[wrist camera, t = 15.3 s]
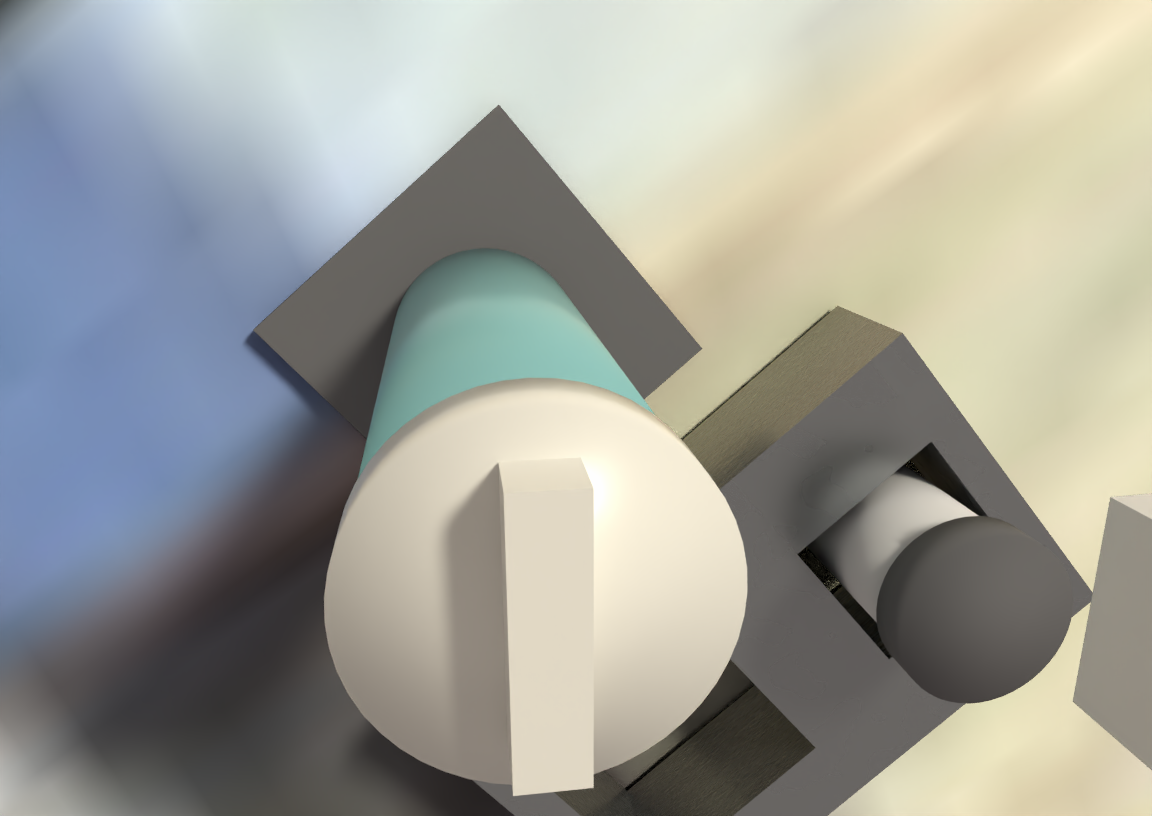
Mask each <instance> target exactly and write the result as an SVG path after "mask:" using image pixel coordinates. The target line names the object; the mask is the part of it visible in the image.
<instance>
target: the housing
mask: <svg viewBox="0 0 1152 816" xmlns="http://www.w3.org/2000/svg"><path fill="white" fill-rule="evenodd" d="M682 441H683V442H684V443H685V444H686V445H687V447H688V448H689V449H690V451H691V452H692V453H693V454H694V456H695V457H696V458H697V460H698V461H699V462H700V464H701V465H702V466H703V468H704V469H705V470H706V471H707V473H708V474H709V475H710V477H711V478H712V480H713V481H714V482H715V484H716V485H717V487H718V488H719V490H720V491H721V493H722V494H723V496H724V497H725V499H726V501H727V503H728V505H729V507H730V509H731V511H732V513H733V515H734V517H735V519H736V522H737V525H738V529H739V532H740V535H741V538H742V541H743V545H744V552H745V558H746V564H747V599H746V607H745V615H744V619H743V623H742V627H741V630H740V634H739V638H738V641H737V643H736V646H735V648H734V650H733V653H732V655H731V658H730V660H731V661H732V662H733V663H734V664H735V665H736V666H737V667H738V668H739V669H740V670H741V671H742V672H743V673H744V674H745V675H746V676H747V677H748V678H749V679H750V680H751V681H752V682H753V683H754V684H755V685H754V686H753V687H752V688H750V689H749V690H748V691H747V692H746V693H744V694H743V695H742V696H741V697H740V698H738V699H737V700H736V701H735V702H734V703H732V704H731V705H730V706H729V707H728V708H726V709H725V710H724V711H723V712H722V713H720V714H719V715H718V716H717V717H716V718H714V719H713V720H712V721H711V722H710V723H708V724H707V725H706V726H705V727H704V728H702V729H701V730H700V731H699V732H698V733H696V734H695V735H694V736H693V737H692V738H690V739H689V740H688V741H687V742H686V743H684V744H683V745H682V746H681V747H680V748H678V749H677V750H676V751H675V752H673V753H672V754H671V755H670V756H669V757H667V758H666V759H665V760H664V761H663V762H661V763H660V764H659V765H658V766H657V767H655V768H654V769H653V770H652V771H651V772H649V773H648V774H647V775H646V776H645V777H643V778H642V779H641V780H640V781H639V782H637V783H636V784H635V785H634V786H633V787H631V788H630V789H629V790H628V791H627V790H625V789H624V788H623V787H622V786H621V785H620V784H619V783H618V782H617V781H616V780H614V779H613V778H612V777H611V776H610V775H609V774H608V773H607V772H606V771H601V772H599V773H596V774H594V788H587V789H578V790H568V791H558V792H548V793H538V794H529V795H519V796H513V791H512V785H508V784H493V783H488V782H482V781H477V780H473V781H474V782H475V783H476V784H478V785H479V786H480V787H481V788H482V789H484V790H485V791H486V792H487V793H488V794H489V795H491V796H492V797H493V798H494V799H495V800H497V801H498V802H499V803H500V804H501V805H503V806H504V807H505V808H506V809H507V810H509V811H510V812H511V813H512V814H513V815H515V816H828V815H829V814H830V813H831V812H832V811H834V810H835V809H836V808H837V807H839V806H840V805H841V804H842V803H844V802H845V801H846V800H847V799H848V798H850V797H851V796H852V795H853V794H855V793H856V792H857V791H858V790H860V789H861V788H862V787H863V786H864V785H866V784H867V783H868V782H869V781H871V780H872V779H873V778H874V777H876V776H877V775H878V774H879V773H880V772H882V771H883V770H884V769H885V768H887V767H888V766H889V765H890V764H892V763H893V762H894V761H895V760H896V759H898V758H899V757H900V756H901V755H903V754H904V753H905V752H906V751H908V750H909V749H910V748H911V747H912V746H914V745H915V744H916V743H917V742H919V741H920V740H921V739H922V738H924V737H925V736H926V735H927V734H929V733H930V732H931V731H932V730H933V729H935V728H936V727H937V726H938V725H940V724H941V723H942V722H943V721H945V720H946V719H947V718H948V717H949V716H951V715H952V714H953V713H954V712H956V711H957V710H958V709H959V708H961V707H962V706H963V705H964V704H965V703H955V702H949V701H946V700H942V699H939V698H937V697H935V696H933V695H931V694H929V693H928V692H926V691H925V690H923V689H922V688H921V687H920V686H919V685H918V684H917V683H916V682H915V681H914V680H913V679H912V678H911V677H910V676H909V675H908V674H907V673H906V671H905V670H904V669H903V668H902V667H901V666H900V665H899V664H898V662H897V661H896V660H895V659H894V658H893V657H892V656H891V654H890V653H889V652H888V650H887V649H886V648H885V646H884V644H883V642H882V640H881V637H880V634H879V631H878V626H877V622H876V621H875V620H874V619H873V618H872V617H871V616H870V615H869V614H868V613H867V612H866V611H865V609H864V608H863V607H862V606H861V605H860V604H859V603H858V602H857V601H856V600H855V599H854V598H853V596H852V595H851V594H850V593H849V592H848V591H847V590H846V589H845V588H844V587H843V586H842V587H841V588H840V589H838V590H837V591H836V592H835V593H834V594H831V592H830V591H829V590H828V589H827V588H826V587H825V586H824V584H823V583H822V582H821V581H820V580H819V579H818V578H817V576H816V575H815V574H814V573H813V572H812V571H811V570H810V568H809V567H808V566H807V565H806V564H805V563H804V562H803V560H802V559H801V558H800V557H799V556H798V555H797V554H798V553H799V552H801V551H802V550H803V549H804V548H805V547H806V546H808V545H809V544H810V543H811V542H812V541H814V540H815V539H816V538H817V537H818V536H820V535H821V534H822V533H823V532H824V531H825V530H827V529H828V528H829V527H830V526H831V525H833V524H834V523H835V522H836V521H837V520H839V519H840V518H841V517H842V516H843V515H845V514H846V513H847V512H848V511H849V510H850V509H852V508H853V507H854V506H855V505H856V504H858V503H859V502H860V501H861V500H862V499H864V498H865V497H866V496H867V495H868V494H869V493H871V492H872V491H873V490H874V489H875V488H877V487H878V486H879V485H880V484H881V483H883V482H884V481H885V480H886V479H887V478H888V477H890V476H891V475H892V474H893V473H894V472H896V471H897V470H898V469H899V468H900V467H902V466H903V465H904V464H905V463H906V462H908V461H909V460H911V461H912V462H913V464H914V465H915V466H916V468H917V469H918V470H919V471H920V473H921V474H922V475H923V477H924V478H925V479H926V480H927V481H929V482H930V483H932V484H933V485H935V486H936V487H938V488H939V489H941V490H942V491H943V492H945V493H946V494H948V495H949V496H951V497H952V498H954V499H955V500H956V501H958V502H959V503H961V504H962V505H964V506H965V507H967V508H968V509H969V510H971V511H972V512H974V513H975V514H977V515H978V516H985V517H992V518H996V519H1000V520H1002V521H1005V522H1008V523H1009V524H1011V525H1013V526H1015V527H1016V528H1018V529H1019V530H1021V531H1022V532H1024V533H1025V534H1027V535H1028V536H1030V537H1031V538H1033V539H1034V540H1036V541H1037V542H1039V543H1040V544H1042V545H1043V546H1045V547H1046V548H1048V549H1049V550H1050V551H1051V552H1053V553H1054V554H1055V555H1056V556H1057V557H1058V559H1059V560H1060V561H1061V562H1062V564H1063V565H1064V567H1065V569H1066V571H1067V573H1068V575H1069V578H1070V581H1071V585H1072V590H1073V611H1072V617H1073V616H1074V615H1075V614H1076V613H1078V612H1079V611H1080V610H1081V609H1082V608H1084V607H1085V606H1086V605H1087V604H1089V603H1090V602H1091V600H1092V594H1093V593H1092V591H1091V590H1090V589H1089V587H1088V586H1087V585H1086V583H1085V582H1084V580H1083V579H1082V578H1081V576H1080V575H1079V574H1078V572H1077V571H1076V569H1075V568H1074V567H1073V565H1072V564H1071V563H1070V561H1069V560H1068V559H1067V557H1066V556H1065V554H1064V553H1063V552H1062V550H1061V549H1060V548H1059V546H1058V545H1057V544H1056V542H1055V541H1054V539H1053V538H1052V537H1051V535H1050V534H1049V533H1048V531H1047V530H1046V528H1045V527H1044V526H1043V524H1042V523H1041V522H1040V520H1039V519H1038V518H1037V516H1036V515H1035V513H1034V512H1033V511H1032V509H1031V508H1030V507H1029V505H1028V504H1027V503H1026V501H1025V500H1024V498H1023V497H1022V496H1021V494H1020V493H1019V492H1018V490H1017V489H1016V487H1015V486H1014V485H1013V483H1012V482H1011V481H1010V479H1009V478H1008V477H1007V475H1006V474H1005V472H1004V471H1003V470H1002V468H1001V467H1000V466H999V464H998V463H997V462H996V460H995V459H994V457H993V456H992V455H991V453H990V452H989V451H988V449H987V448H986V446H985V445H984V444H983V442H982V441H981V440H980V438H979V437H978V436H977V434H976V433H975V431H974V430H973V429H972V427H971V426H970V425H969V423H968V422H967V421H966V419H965V418H964V416H963V415H962V414H961V412H960V411H959V410H958V408H957V407H956V405H955V404H954V403H953V401H952V400H951V399H950V397H949V396H948V395H947V393H946V392H945V390H944V389H943V388H942V386H941V385H940V384H939V382H938V381H937V380H936V378H935V377H934V375H933V374H932V373H931V371H930V370H929V369H928V367H927V366H926V364H925V363H924V362H923V360H922V359H921V358H920V356H919V355H918V354H917V352H916V351H915V349H914V348H913V347H912V345H911V344H910V343H909V341H908V340H907V339H906V337H905V336H904V334H903V333H901V332H898V331H896V330H894V329H891V328H889V327H887V326H884V325H882V324H879V323H877V322H875V321H872V320H870V319H868V318H865V317H863V316H860V315H858V314H856V313H853V312H851V311H849V310H846V309H844V308H841V307H839V306H837V307H836V308H835V309H833V310H832V311H831V312H830V313H829V314H828V315H827V316H825V317H824V318H823V319H822V320H821V321H820V322H818V323H817V324H816V325H815V326H814V327H813V328H811V329H810V330H809V331H808V332H807V333H806V334H805V335H803V336H802V337H801V338H800V339H799V340H798V341H796V342H795V343H794V344H793V345H792V346H791V347H789V348H788V349H787V350H786V351H785V352H784V353H783V354H781V355H780V356H779V357H778V358H777V359H776V360H774V361H773V362H772V363H771V364H770V365H769V366H767V367H766V368H765V369H764V370H763V371H762V372H761V373H759V374H758V375H757V376H756V377H755V378H754V379H752V380H751V381H750V382H749V383H748V384H747V385H745V386H744V387H743V388H742V389H741V390H740V391H739V392H737V393H736V394H735V395H734V396H733V397H732V398H730V399H729V400H728V401H727V402H726V403H725V404H723V405H722V406H721V407H720V408H719V409H718V410H717V411H715V412H714V413H713V414H712V415H711V416H710V417H708V418H707V419H706V420H705V421H704V422H703V423H701V424H700V425H699V426H698V427H697V428H696V429H695V430H693V431H692V432H691V433H690V434H689V435H688V436H686V437H685V438H684V439H683V440H682Z"/></svg>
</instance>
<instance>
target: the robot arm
mask: <svg viewBox="0 0 1152 816" xmlns="http://www.w3.org/2000/svg"><path fill="white" fill-rule="evenodd" d="M1073 702H1074V703H1075V704H1076V705H1077V706H1078V707H1080V708H1081V709H1082V710H1083V711H1084V712H1085V713H1086V714H1088V715H1089V716H1090V717H1091V718H1092V719H1093V720H1095V721H1096V722H1097V723H1098V724H1099V725H1100V726H1101V727H1103V728H1104V729H1105V730H1106V731H1107V732H1108V733H1110V734H1111V735H1112V736H1113V737H1114V738H1115V739H1116V740H1118V741H1119V742H1120V743H1121V744H1122V745H1123V746H1124V747H1126V748H1127V749H1128V750H1129V751H1130V752H1131V753H1133V754H1134V755H1135V756H1136V757H1137V758H1138V759H1139V760H1141V761H1142V762H1143V763H1144V764H1145V765H1146V766H1147V767H1149V768H1150V769H1151V770H1152V493H1150V494H1139V495H1128V496H1117V497H1110V502H1109V507H1108V513H1107V518H1106V524H1105V529H1104V535H1103V540H1102V545H1101V551H1100V556H1099V562H1098V567H1097V573H1096V578H1095V583H1094V589H1093V594H1092V600H1091V605H1090V611H1089V616H1088V621H1087V627H1086V632H1085V638H1084V643H1083V648H1082V654H1081V659H1080V665H1079V670H1078V676H1077V681H1076V686H1075V692H1074V697H1073Z"/></svg>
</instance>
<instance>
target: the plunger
mask: <svg viewBox="0 0 1152 816" xmlns="http://www.w3.org/2000/svg"><path fill="white" fill-rule="evenodd" d="M807 548H808V549H809V550H810V551H811V552H812V553H813V554H814V555H815V556H816V558H817V559H818V560H819V561H820V562H821V563H822V564H823V565H824V566H825V567H826V568H827V569H828V571H829V572H830V573H831V574H832V575H833V576H834V577H835V578H836V579H837V580H838V581H839V582H840V583H841V585H842V586H843V587H844V588H845V589H846V590H847V591H848V592H849V593H850V594H851V595H852V596H853V598H854V599H855V600H856V601H857V602H858V603H859V604H860V605H861V606H862V607H863V608H864V609H865V611H866V612H867V613H868V614H869V615H870V616H871V617H872V618H873V619H874V620H875V621H876V622H877V626H878V631H879V634H880V637H881V640H882V642H883V644H884V646H885V648H886V649H887V650H888V652H889V653H890V654H891V656H892V657H893V658H894V659H895V660H896V661H897V662H898V664H899V665H900V666H901V667H902V668H903V669H904V670H905V671H906V673H907V674H908V675H909V676H910V677H911V678H912V679H913V680H914V681H915V682H916V683H917V684H918V685H919V686H920V687H921V688H922V689H923V690H925V691H926V692H928V693H929V694H931V695H933V696H935V697H937V698H939V699H942V700H946V701H949V702H955V703H979V702H984V701H989V700H993V699H996V698H999V697H1002V696H1004V695H1006V694H1008V693H1011V692H1013V691H1015V690H1016V689H1018V688H1020V687H1021V686H1023V685H1024V684H1026V683H1027V682H1029V681H1030V680H1031V679H1033V678H1034V677H1035V676H1036V675H1037V674H1038V673H1039V672H1040V671H1042V669H1043V668H1044V667H1045V666H1046V665H1047V664H1048V663H1049V662H1050V660H1051V659H1052V658H1053V656H1054V655H1055V654H1056V652H1057V651H1058V649H1059V647H1060V646H1061V644H1062V642H1063V640H1064V638H1065V636H1066V633H1067V631H1068V628H1069V625H1070V622H1071V617H1072V611H1073V590H1072V585H1071V581H1070V578H1069V575H1068V573H1067V571H1066V569H1065V567H1064V565H1063V564H1062V562H1061V561H1060V560H1059V559H1058V557H1057V556H1056V555H1055V554H1054V553H1053V552H1051V551H1050V550H1049V549H1048V548H1046V547H1045V546H1043V545H1042V544H1040V543H1039V542H1037V541H1036V540H1034V539H1033V538H1031V537H1030V536H1028V535H1027V534H1025V533H1024V532H1022V531H1021V530H1019V529H1018V528H1016V527H1015V526H1013V525H1011V524H1009V523H1008V522H1005V521H1002V520H1000V519H996V518H992V517H985V516H978V515H977V514H975V513H974V512H972V511H971V510H969V509H968V508H967V507H965V506H964V505H962V504H961V503H959V502H958V501H956V500H955V499H954V498H952V497H951V496H949V495H948V494H946V493H945V492H943V491H942V490H941V489H939V488H938V487H936V486H935V485H933V484H932V483H930V482H929V481H927V480H926V479H925V478H923V477H922V476H920V475H919V474H917V473H916V472H914V471H913V470H912V469H910V468H909V467H907V466H906V465H903V466H902V467H900V468H899V469H898V470H897V471H896V472H894V473H893V474H892V475H891V476H890V477H888V478H887V479H886V480H885V481H884V482H883V483H881V484H880V485H879V486H878V487H877V488H875V489H874V490H873V491H872V492H871V493H869V494H868V495H867V496H866V497H865V498H864V499H862V500H861V501H860V502H859V503H858V504H856V505H855V506H854V507H853V508H852V509H850V510H849V511H848V512H847V513H846V514H845V515H843V516H842V517H841V518H840V519H839V520H837V521H836V522H835V523H834V524H833V525H831V526H830V527H829V528H828V529H827V530H825V531H824V532H823V533H822V534H821V535H820V536H818V537H817V538H816V539H815V540H814V541H812V542H811V543H810V544H809V545H808V546H807Z"/></svg>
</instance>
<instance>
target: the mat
mask: <svg viewBox="0 0 1152 816" xmlns="http://www.w3.org/2000/svg"><path fill="white" fill-rule="evenodd" d="M480 248H489V249H500V250H505V251H509V252H513V253H516V254H519V255H521V256H523V257H526V258H528V259H530V260H532V261H533V262H535V263H536V264H538V265H539V266H541V267H542V268H543V269H544V270H546V271H547V272H548V273H549V274H550V275H551V276H552V277H553V278H554V279H555V280H556V281H557V283H558V284H559V285H560V287H561V288H562V289H563V291H564V292H565V293H566V295H567V296H568V297H569V299H570V300H571V301H572V303H573V304H574V306H575V307H576V308H577V310H578V311H579V312H580V314H581V315H582V316H583V318H584V319H585V320H586V322H587V323H588V325H589V326H590V327H591V329H592V330H593V331H594V333H595V334H596V335H597V337H598V338H599V339H600V341H601V342H602V344H603V345H604V346H605V348H606V349H607V350H608V352H609V353H610V354H611V356H612V357H613V358H614V360H615V361H616V363H617V364H618V365H619V367H620V368H621V369H622V371H623V372H624V373H625V375H626V376H627V377H628V379H629V380H630V382H631V383H632V384H633V386H634V387H635V388H636V390H637V391H638V392H639V394H640V395H641V396H642V398H643V399H645V398H646V397H647V396H648V395H650V394H651V393H652V392H653V391H654V390H655V389H656V388H658V387H659V386H660V385H661V384H662V383H663V382H665V381H666V380H667V379H668V378H669V377H670V376H671V375H673V374H674V373H675V372H676V371H677V370H678V369H679V368H681V367H682V366H683V365H684V364H685V363H686V362H687V361H689V360H690V359H691V358H692V357H693V356H694V355H696V354H697V353H698V352H699V351H700V350H701V349H702V348H701V347H700V345H699V344H698V343H697V342H696V341H695V339H694V338H693V337H692V336H691V335H690V333H689V332H688V331H687V330H686V329H685V327H684V326H683V325H682V324H681V323H680V322H679V320H678V319H677V318H676V317H675V316H674V314H673V313H672V312H671V311H670V310H669V308H668V307H667V306H666V305H665V304H664V302H663V301H662V300H661V299H660V298H659V296H658V295H657V294H656V293H655V292H654V290H653V289H652V288H651V287H650V286H649V284H648V283H647V282H646V281H645V280H644V278H643V277H642V276H641V275H640V274H639V272H638V271H637V270H636V269H635V268H634V266H633V265H632V264H631V263H630V262H629V260H628V259H627V258H626V257H625V256H624V254H623V253H622V252H621V251H620V250H619V248H618V247H617V246H616V245H615V244H614V242H613V241H612V240H611V239H610V238H609V236H608V235H607V234H606V233H605V232H604V230H603V229H602V228H601V227H600V226H599V224H598V223H597V222H596V221H595V220H594V218H593V217H592V216H591V215H590V214H589V212H588V211H587V210H586V209H585V208H584V206H583V205H582V204H581V203H580V202H579V200H578V199H577V198H576V197H575V196H574V194H573V193H572V192H571V191H570V190H569V188H568V187H567V186H566V185H565V184H564V182H563V181H562V180H561V179H560V178H559V176H558V175H557V174H556V173H555V172H554V170H553V169H552V168H551V167H550V166H549V164H548V163H547V162H546V161H545V160H544V158H543V157H542V156H541V155H540V154H539V152H538V151H537V150H536V149H535V148H534V146H533V145H532V144H531V143H530V142H529V140H528V139H527V138H526V137H525V136H524V134H523V133H522V132H521V131H520V130H519V128H518V127H517V126H516V125H515V124H514V122H513V121H512V120H511V119H510V118H509V116H508V115H507V114H506V113H505V112H504V110H503V109H502V108H501V107H500V106H499V105H498V106H497V107H496V108H495V109H493V110H492V111H491V112H490V113H489V114H488V115H487V116H486V117H485V118H484V119H483V120H481V121H480V122H479V123H478V124H477V125H476V126H475V127H474V128H473V129H472V130H471V131H469V132H468V133H467V134H466V135H465V136H464V137H463V138H462V139H461V140H460V141H459V142H457V143H456V144H455V145H454V146H453V147H452V148H451V149H450V150H449V151H448V152H447V153H445V154H444V155H443V156H442V157H441V158H440V159H439V160H438V161H437V162H436V163H435V164H433V165H432V166H431V167H430V168H429V169H428V170H427V171H426V172H425V173H424V174H423V175H421V176H420V177H419V178H418V179H417V180H416V181H415V182H414V183H413V184H412V185H411V186H409V187H408V188H407V189H406V190H405V191H404V192H403V193H402V194H401V195H400V196H399V197H397V198H396V199H395V200H394V201H393V202H392V203H391V204H390V205H389V206H388V207H387V208H385V209H384V210H383V211H382V212H381V213H380V214H379V215H378V216H377V217H376V218H375V219H373V220H372V221H371V222H370V223H369V224H368V225H367V226H366V227H365V228H364V229H363V230H361V231H360V232H359V233H358V234H357V235H356V236H355V237H354V238H353V239H352V240H351V241H349V242H348V243H347V244H346V245H345V246H344V247H343V248H342V249H341V250H340V251H339V252H337V253H336V254H335V255H334V256H333V257H332V258H331V259H330V260H329V261H328V262H326V263H325V264H324V265H323V266H322V267H321V268H320V269H319V270H318V271H317V272H316V273H314V274H313V275H312V276H311V277H310V278H309V279H308V280H307V281H306V282H305V283H304V284H302V285H301V286H300V287H299V288H298V289H297V290H296V291H295V292H294V293H293V294H292V295H290V296H289V297H288V298H287V299H286V300H285V301H284V302H283V303H282V304H281V305H280V306H278V307H277V308H276V309H275V310H274V311H273V312H272V313H271V314H270V315H269V316H268V317H266V318H265V319H264V320H263V321H262V322H261V323H260V324H259V325H258V326H257V327H256V328H255V329H254V331H255V332H256V333H257V334H258V335H259V336H260V337H261V338H262V339H263V340H264V341H265V342H266V343H267V344H268V345H269V346H270V347H271V348H272V349H273V350H274V351H275V352H276V353H278V354H279V355H280V356H281V357H282V358H283V359H284V360H285V361H286V362H287V363H288V364H289V365H290V366H291V367H292V368H293V369H294V370H295V371H296V372H297V373H298V374H299V375H300V376H301V377H303V378H304V379H305V380H306V381H307V382H308V383H309V384H310V385H311V386H312V387H313V388H314V389H315V390H316V391H317V392H318V393H319V394H320V395H321V396H322V397H323V398H324V399H325V400H326V401H327V402H329V403H330V404H331V405H332V406H333V407H334V408H335V409H336V410H337V411H338V412H339V413H340V414H341V415H342V416H343V417H344V418H345V419H346V420H347V421H348V422H349V423H350V424H351V425H352V426H353V427H355V428H356V429H357V430H358V431H359V432H360V433H361V434H362V435H363V436H364V437H365V438H366V439H367V437H368V433H369V429H370V424H371V420H372V416H373V412H374V407H375V403H376V399H377V394H378V390H379V386H380V382H381V377H382V373H383V369H384V364H385V360H386V356H387V352H388V347H389V343H390V339H391V334H392V330H393V326H394V322H395V318H396V314H397V311H398V308H399V305H400V303H401V301H402V299H403V297H404V295H405V293H406V292H407V290H408V288H409V287H410V286H411V284H412V283H413V282H414V281H415V279H416V278H417V277H418V276H419V275H420V274H421V273H422V272H424V271H425V270H426V269H427V268H428V267H430V266H431V265H433V264H434V263H435V262H437V261H439V260H441V259H443V258H445V257H447V256H449V255H452V254H455V253H457V252H461V251H466V250H470V249H480Z"/></svg>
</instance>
